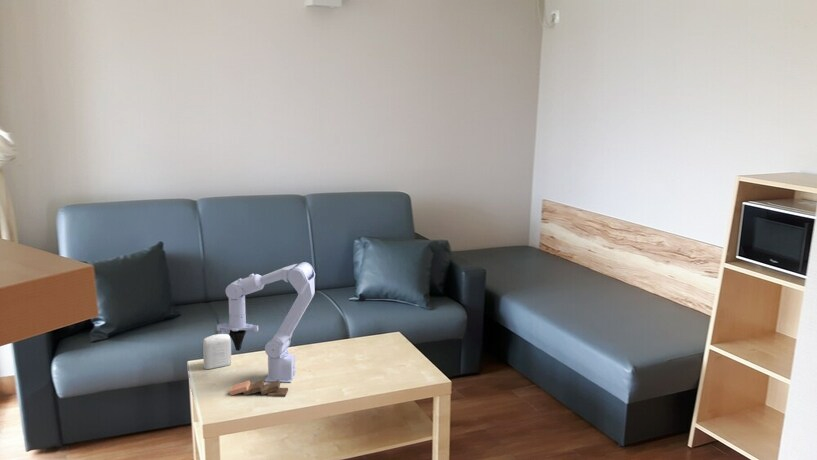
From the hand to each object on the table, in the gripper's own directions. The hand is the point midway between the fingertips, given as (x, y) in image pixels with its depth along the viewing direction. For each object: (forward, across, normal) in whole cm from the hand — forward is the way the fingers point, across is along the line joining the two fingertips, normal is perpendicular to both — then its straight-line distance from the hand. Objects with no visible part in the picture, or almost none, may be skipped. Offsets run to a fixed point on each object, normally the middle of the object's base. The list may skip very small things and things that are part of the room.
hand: (238, 349), depth 225 cm
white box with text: (+10, -10, +6) cm, 15 cm away
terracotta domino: (+9, +2, -15) cm, 17 cm away
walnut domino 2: (+9, +12, -14) cm, 21 cm away
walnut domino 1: (+9, +7, -14) cm, 18 cm away
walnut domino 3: (+9, +15, -14) cm, 23 cm away
